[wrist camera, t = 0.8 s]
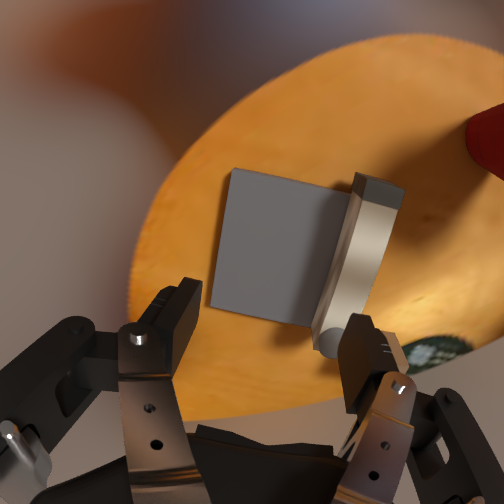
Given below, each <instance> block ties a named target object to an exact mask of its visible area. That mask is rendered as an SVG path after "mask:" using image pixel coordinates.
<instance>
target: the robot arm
mask: <svg viewBox="0 0 504 504" xmlns="http://www.w3.org/2000/svg"><path fill="white" fill-rule="evenodd" d="M201 293H202V281H200V280H196V279H192V278H188V277H184V278H183V280H182V281H181V283H180V284H179V286H178V287H174V286H168V287H166V288H164V289H162V290H160V292H159V293H158V294H157V296H156V297H155V298H154V300H153V301H152V302H151V304H150V305H149V306H148V308H147V309H146V310H145V312H144V313H143V314H142V316H141V317H140V318H139V320H138V321H137V322H131V323H127V324H125V325H123V326H122V327H121V328H120V329H119V331H118V332H116V333H112V332H100V331H95V326H94V323H93V322H92V321H91V320H90V319H88V318H86V317H82V316H71V317H68V318H65V319H63V320H61V321H60V322H59V323H58V324H57V325H55V326H54V327H52V328H51V329H50V330H49V331H47V332H46V333H45V334H44V335H42V336H41V337H40V338H39V339H37V340H36V341H35V342H34V343H33V344H31V345H30V346H29V347H28V348H27V349H25V350H24V351H23V352H22V353H20V354H19V355H18V356H17V357H16V358H14V359H13V360H12V361H11V362H10V363H9V364H7V365H6V366H5V367H4V368H3V369H1V370H0V497H2V498H3V499H4V500H5V501H6V502H7V503H8V504H394V503H393V499H394V496H395V493H396V491H397V487H398V485H399V481H400V479H401V476H402V472H403V469H404V466H405V462H406V463H407V466H408V469H409V472H410V474H411V477H412V480H413V483H414V486H415V489H416V492H417V495H418V498H419V501H420V504H504V472H503V470H502V468H501V466H500V464H499V462H498V460H497V459H496V457H495V455H494V453H493V451H492V449H491V447H490V445H489V443H488V442H487V440H486V438H485V436H484V434H483V432H482V431H481V429H480V427H479V426H478V423H477V422H476V420H475V418H474V417H473V415H472V413H471V412H470V410H469V408H468V407H467V405H466V403H465V402H464V400H463V398H462V397H461V396H460V394H458V393H457V392H456V391H454V390H452V389H449V388H440V389H438V390H437V392H436V393H435V395H434V396H430V395H427V394H424V393H421V392H418V391H417V388H416V385H415V383H414V381H413V380H412V379H411V378H410V377H408V376H407V375H405V374H403V373H401V372H400V371H399V369H398V366H397V363H396V361H395V358H394V356H393V353H391V352H392V351H391V348H390V346H389V343H388V341H387V338H386V336H385V335H384V334H383V333H382V332H381V331H380V330H379V329H377V328H375V327H374V324H373V322H372V319H371V317H370V316H369V315H364V314H358V313H352V314H351V315H350V318H349V320H348V322H347V325H346V327H345V330H344V332H343V335H342V337H341V339H340V342H339V345H338V350H337V357H338V363H339V369H340V375H341V381H342V387H343V394H344V400H345V406H346V413H348V414H357V419H356V421H355V422H354V424H353V426H352V428H351V430H350V432H349V434H348V436H347V438H346V440H345V442H344V444H343V446H342V448H341V449H340V451H339V453H338V455H337V456H334V455H333V446H330V445H316V444H307V443H295V444H283V445H264V444H261V443H258V442H256V441H253V440H250V439H248V438H245V437H243V436H240V435H238V434H236V433H233V432H230V431H225V430H221V429H216V428H212V427H207V426H203V425H200V424H198V426H197V429H196V432H195V433H186V432H185V428H184V425H183V421H182V417H181V414H180V410H179V406H178V402H177V398H176V394H175V390H174V386H173V382H172V378H173V376H174V374H175V372H176V369H177V367H178V365H179V363H180V360H181V358H182V356H183V354H184V351H185V349H186V347H187V345H188V343H189V340H190V338H191V336H192V334H193V331H194V329H195V327H196V324H197V321H198V316H199V309H200V301H201ZM102 390H103V391H113V392H119V398H120V410H121V420H122V428H123V437H124V445H125V452H126V455H125V456H123V457H121V458H118V459H116V460H114V461H112V462H110V463H108V464H106V465H103V466H101V467H99V468H96V469H94V470H92V471H90V472H87V473H85V474H82V475H80V476H78V477H76V478H73V479H70V480H68V481H65V482H63V483H60V484H57V485H54V486H52V487H49V488H47V479H48V477H49V475H50V473H51V470H52V462H51V458H50V456H49V454H50V452H51V451H52V450H53V449H54V447H55V446H56V445H57V444H58V443H59V441H60V440H61V439H62V438H63V437H64V435H65V434H66V433H67V432H68V430H69V429H70V428H71V427H72V426H73V425H74V423H75V422H76V421H77V420H78V419H79V417H80V416H81V415H82V414H83V412H84V411H85V410H86V409H87V408H88V407H89V405H90V404H91V403H92V402H93V401H94V399H95V398H96V397H97V396H98V395H99V394H100V392H101V391H102ZM441 437H443V439H444V441H445V444H446V446H447V448H448V450H449V454H450V456H449V460H448V462H447V464H445V462H444V460H443V458H442V455H441V453H440V451H439V448H438V446H437V444H436V442H437V441H438V440H439V439H440V438H441Z"/></svg>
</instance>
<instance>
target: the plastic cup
mask: <svg viewBox="0 0 504 504" xmlns="http://www.w3.org/2000/svg"><path fill="white" fill-rule="evenodd" d="M466 145H467V148H468V151H469V154H470V155H471V156H472V158H473V159H474V160H475V162H477V164H479V165H480V166H482V167H484V168H485V169H487V170H489V171H490V172H491V173H493V174H494V175H496V176H497V177H499V178H500V179H502V180H503V181H504V103H502V104H500V105H497V106H495V107H492V108H490V109H488V110H485V111H482V112H480V113H478V114H476V115H475V116H473V117H472V119H471V120H470V121H469V122H468V125H467V129H466Z"/></svg>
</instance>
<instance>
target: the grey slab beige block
mask: <svg viewBox="0 0 504 504" xmlns="http://www.w3.org/2000/svg"><path fill="white" fill-rule="evenodd" d="M350 197H351V194H350V193H346V192H342V191H338V190H334V189H330V188H326V187H322V186H318V185H314V184H310V183H306V182H301V181H297V180H293V179H288V178H284V177H279V176H274V175H270V174H265V173H260V172H255V171H250V170H245V169H240V168H234V169H232V174H231V180H230V185H229V191H228V197H227V203H226V208H225V214H224V220H223V226H222V232H221V238H220V245H219V251H218V257H217V264H216V270H215V277H214V283H213V290H212V297H211V303H210V306H211V307H215V308H219V309H223V310H228V311H232V312H237V313H241V314H246V315H250V316H255V317H259V318H264V319H269V320H274V321H279V322H284V323H288V324H294V325H299V326H304V327H309V328H311V324H312V322H313V319H314V316H315V313H316V310H317V307H318V304H319V301H320V298H321V295H322V292H323V289H324V286H325V283H326V280H327V276H328V273H329V270H330V267H331V264H332V260H333V257H334V254H335V251H336V247H337V244H338V240H339V237H340V234H341V230H342V227H343V223H344V219H345V216H346V212H347V209H348V205H349V201H350ZM381 332H382V333H383V334H384V335H385V336H386V338H387V341H388V343H389V346H390V348H391V351H392V352H391V353H393V356H394V358H395V361H396V363H397V366H398V369H399V371H400V372H401V373H403V374H405V373H406V371H407V370H408V368H409V365H408V362H407V360H406V358H405V355H404V353H403V351H402V348H401V346H400V344H399V341H398V339H397V337H396V335H395V333H391V332H385V331H381Z"/></svg>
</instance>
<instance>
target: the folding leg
mask: <svg viewBox="0 0 504 504" xmlns="http://www.w3.org/2000/svg"><path fill="white" fill-rule="evenodd" d="M351 190H352V193H351V197H350V201H349V205H348V209H347V212H346V216H345V219H344V223H343V227H342V230H341V234H340V237H339V240H338V244H337V247H336V251H335V254H334V257H333V260H332V264H331V267H330V270H329V273H328V276H327V280H326V283H325V286H324V289H323V292H322V295H321V298H320V301H319V304H318V307H317V310H316V313H315V316H314V319H313V322H312V324H311V329H312V341H313V350H318V351H320V353H321V354H322V355H323V356H325V357H327V358H331V359H335V358H338V357H337V350H338V345H339V342H340V339H341V337H342V335H343V332H344V330H345V327H346V325H347V322H348V320H349V318H350V315H351V314H352V313H358V314H361V313H362V311H363V309H364V306H365V304H366V301H367V299H368V296H369V293H370V291H371V288H372V286H373V283H374V280H375V278H376V275H377V272H378V269H379V267H380V264H381V261H382V258H383V255H384V252H385V249H386V246H387V243H388V240H389V237H390V234H391V231H392V228H393V225H394V221H395V218H396V215H397V212H398V210H400V207H401V204H402V200H403V197H404V193H405V190H404V189H402V188H400V187H398V186H397V185H395V184H393V183H391V182H389V181H385V180H382V179H379V178H375V177H372V176H369V175H365V174H361V173H358V172H355V176H354V180H353V184H352V188H351Z"/></svg>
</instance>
